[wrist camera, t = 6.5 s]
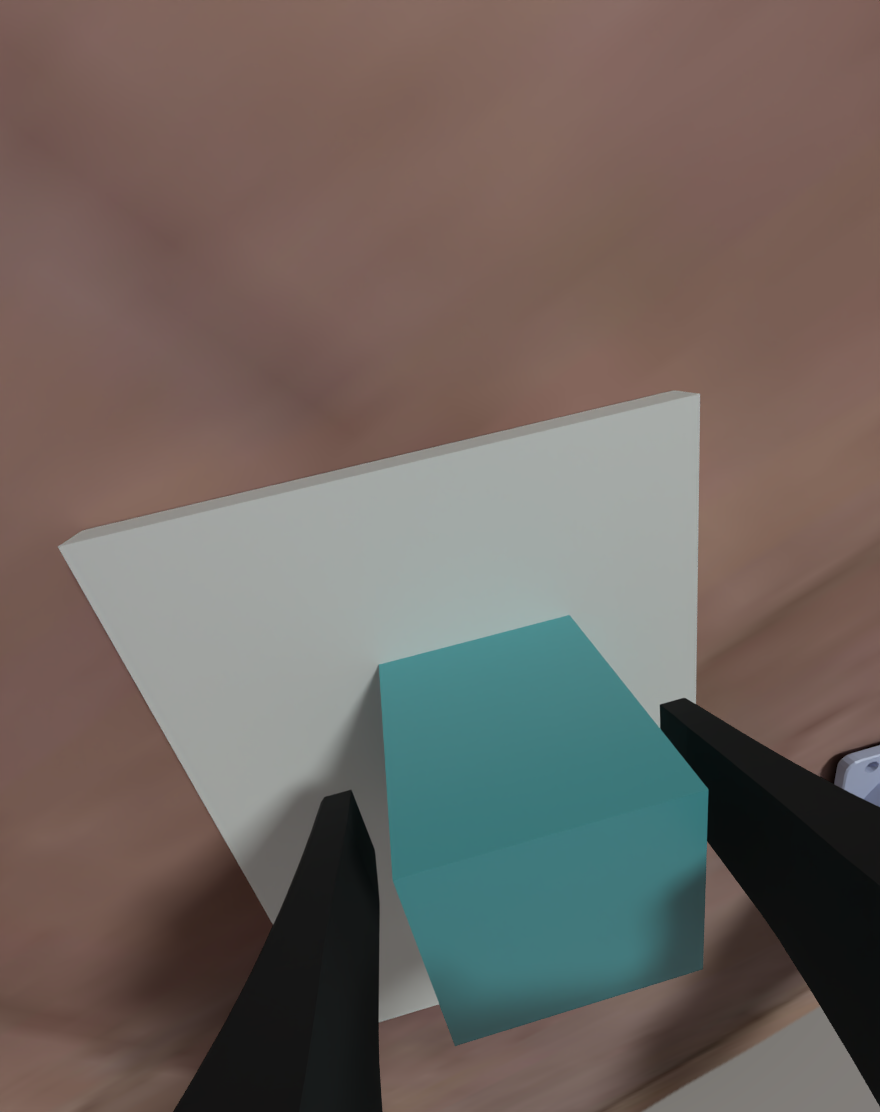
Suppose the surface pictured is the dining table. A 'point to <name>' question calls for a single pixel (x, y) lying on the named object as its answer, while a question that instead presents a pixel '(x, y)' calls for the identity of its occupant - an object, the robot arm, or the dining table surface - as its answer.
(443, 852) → the turquoise box
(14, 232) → the dining table surface
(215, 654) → the post board
